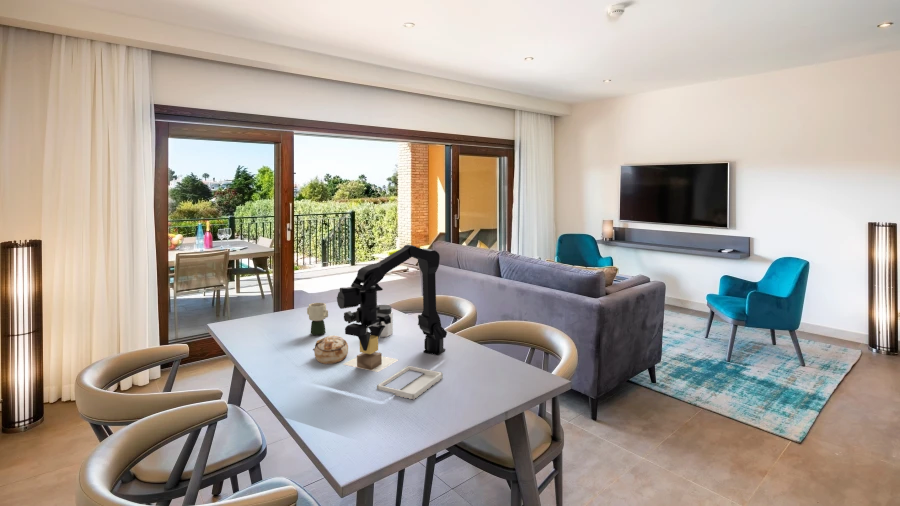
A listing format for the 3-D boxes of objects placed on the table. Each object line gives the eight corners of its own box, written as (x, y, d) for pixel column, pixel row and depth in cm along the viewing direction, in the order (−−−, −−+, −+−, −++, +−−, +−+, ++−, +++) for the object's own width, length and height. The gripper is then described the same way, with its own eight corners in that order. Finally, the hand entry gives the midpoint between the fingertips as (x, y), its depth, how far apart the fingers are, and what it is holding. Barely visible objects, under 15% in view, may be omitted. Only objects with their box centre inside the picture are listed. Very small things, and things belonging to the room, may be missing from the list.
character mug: (333, 333, 197) (333, 304, 195) (322, 338, 191) (322, 307, 189) (313, 330, 202) (312, 301, 200) (302, 334, 195) (301, 304, 193)
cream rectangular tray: (442, 378, 151) (442, 372, 151) (413, 400, 135) (413, 394, 135) (408, 370, 157) (408, 365, 157) (376, 391, 141) (376, 385, 141)
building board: (399, 361, 165) (399, 359, 165) (377, 374, 154) (377, 372, 154) (365, 354, 172) (365, 352, 172) (342, 366, 161) (342, 364, 160)
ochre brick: (378, 350, 160) (378, 336, 159) (370, 354, 156) (370, 340, 155) (367, 348, 162) (367, 334, 161) (359, 352, 158) (359, 338, 157)
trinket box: (339, 349, 178) (338, 329, 177) (358, 360, 167) (357, 339, 166) (305, 357, 170) (305, 336, 169) (323, 369, 158) (322, 347, 157)
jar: (371, 337, 192) (370, 309, 191) (371, 331, 200) (371, 304, 199) (392, 336, 193) (392, 309, 192) (392, 331, 201) (392, 304, 200)
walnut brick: (381, 364, 161) (381, 353, 160) (371, 370, 156) (371, 358, 155) (367, 361, 164) (367, 350, 163) (357, 366, 158) (356, 355, 158)
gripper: (366, 296, 168) (366, 337, 171) (331, 307, 152) (332, 352, 154) (391, 299, 163) (391, 341, 166) (358, 311, 147) (359, 358, 149)
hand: (369, 348), depth 159 cm, fingers closed on ochre brick, 4 cm apart
